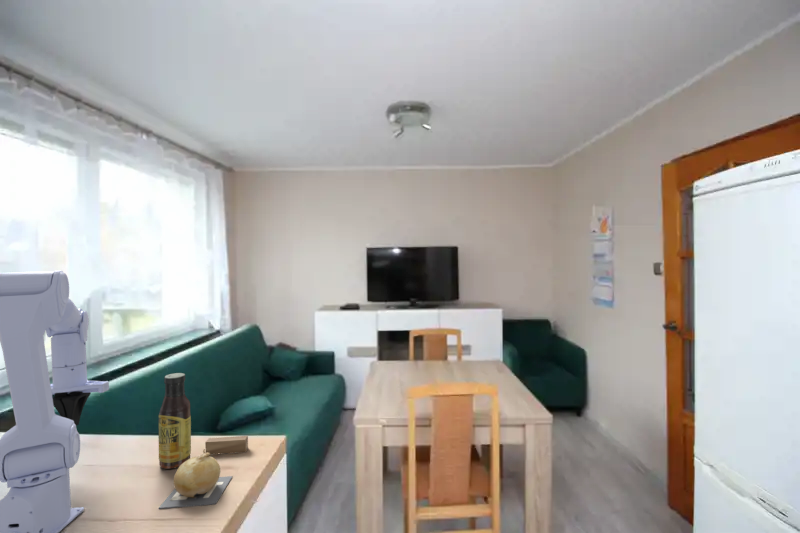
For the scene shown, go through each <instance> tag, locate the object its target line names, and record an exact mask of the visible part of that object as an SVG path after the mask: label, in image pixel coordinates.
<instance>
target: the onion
mask: <svg viewBox="0 0 800 533" xmlns="http://www.w3.org/2000/svg"><path fill="white" fill-rule="evenodd" d="M220 475H221V467H220V463H219V462H218V461H217V460H216V458H214V457H213V456H212V455H211V454H210V453H208V452H207V453H206V448H205V449H203V450H202V454H200V455H198V456H193V457H190V459H188V460H187V461H185V462H184V463H183V464H181V465H180V467H178V468H177V470H176V471H175V474H174V476H173V486H174V489H176V491H177V492H178V493H179V494H181V495H183V496H185V497H191V498H195V497H194V495H195V494H196V493H197V494H205V493H206V492H208V491H210V490H211V489H212V488H213V487H214V486H215V484H216V483H217V481H218V479H219V477H221V476H220Z"/></svg>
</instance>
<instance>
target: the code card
mask: <svg viewBox="0 0 800 533" xmlns="http://www.w3.org/2000/svg"><path fill="white" fill-rule="evenodd" d="M232 478H233V475H229V476H219V479H218V481H217V483H216V484H215V486H214V487H213V488H212V489H211V490H210V491H208V492H206V493H205V494H197V493H196V494H195V495H194V497H195V498H191V497H185V496H183V495H181V494H179V493H178V492H177V491H176V489H175V488H174V489H173V490H172V491H171V492H170V493H169V495H167V497H166V498H165V500H163V502H162V503H161V505H160V506H159V507H158V509H159V510H161V509H173V508H186V507H198V506H199V507H200V506H210V505H211V506H212V505H216V504H217V503H218V501H219V500H220V498H221V496H223V495H222V494H223V493H224V492H225V490H226V488H227V487H226V486H228V485H229V484H230V482H231V480H232Z"/></svg>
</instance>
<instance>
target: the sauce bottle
mask: <svg viewBox="0 0 800 533" xmlns="http://www.w3.org/2000/svg"><path fill="white" fill-rule="evenodd" d="M163 380H164V386H165V388H164V389H165V390H164V391H165V392H164V397H163V400H162V404H161V407H160V409H159V414H158V461H159V467H161V468H162V469H163V470H168V469H178V468H179V467H180V465H181V464H183V463H184V462H185V461H187V460H188V459H190V458H191V453H192V452H191V451H192V430H191V429H192V427H191V426H192V421H191V420H192V418H191V417H192V416H191V401H190V400H189V399H188V398H187V395H186V393H185V392H186V391H185V381H186V374H185V373H182V372H176V373H175V372H173V373H170V374H166V375H165V376H164V379H163Z"/></svg>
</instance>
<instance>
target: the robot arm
mask: <svg viewBox="0 0 800 533" xmlns="http://www.w3.org/2000/svg"><path fill="white" fill-rule="evenodd" d="M69 297H70V283H69V277H68V275H67V274H66V273H65V272H64V271H63V270H60V269H57V270H54V271H22V272H20V271H19V272H0V346H1V347H0V348H1V349H2V354H3V355H2V356H3V360H4V366H5V371H6V377H7V383H8V388H9V394H10V397H11V398H10V399H11V404H12V410H13V415H14V420H15V425H14V426H12V427H11V428H10V429H9V430H7V431H5V433H4V434H3V435H2V436H1V437H0V483H6V487H7V488H8V489H9V488H10V489H9V490H8V492H7V493H6V494H5V496H4V497H3V498H1V500H0V533H60V532H61V531H62V530H63V529H64V528H65V527H67V526H68V525H69V524H70V523H71V522H72V521H74V520H75V519H76V517H78V516H79V515H80V514H82V512H84V511H85V507H84V506H81V507H79V506H78V507H72V501H71V481H70V480H71V479H70V478H71V477H70V469H71V468H74V466H75V465H76V464H77V463H78V461H79V458H80V454H81V436H80V432H78V430H77V426H78V425H80V424H79V423H80V420H81V416H82V412H83V409H84V407H85V404H86V402H87V400H88V399H89V397H90V396H91V393H98V394H101V393H102V394H103V393H105V392H107V391H109V390H110V382H109V381H108V380H106V381H105V380H103V381H101V380H88V368H87V345H86V344H87V343H86V342H87V341H88V329H89V321H90V320H89V315H88V314H89V313H88V312H87V310H83V308H78V307H77V306H76V305H75V303H74V301H73V300H72V299H71V298H69ZM45 333H46V336H47V338H50V349H51V351H50V352H51V353H50V354H51V370H52V372H51V374H52V383H51V380H50V373H49V366H48V360H47V355H46V354H47V353H46V347H45V342H44V341H45V340H44V335H45ZM53 395H54V396H53ZM55 410H56V411H57V413H58V414H56V412H55Z"/></svg>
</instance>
